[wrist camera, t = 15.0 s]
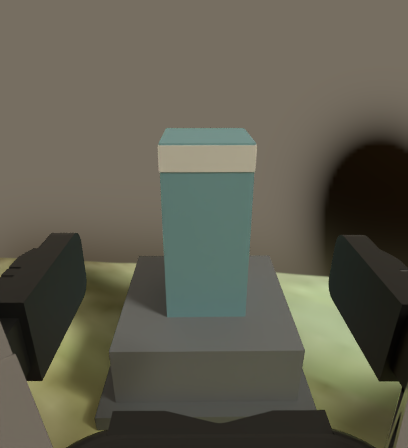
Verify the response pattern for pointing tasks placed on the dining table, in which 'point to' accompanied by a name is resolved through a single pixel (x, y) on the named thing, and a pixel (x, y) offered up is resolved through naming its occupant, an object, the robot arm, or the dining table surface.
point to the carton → (206, 219)
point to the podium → (204, 353)
